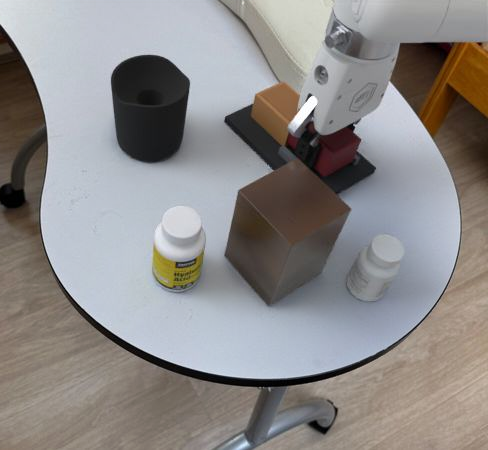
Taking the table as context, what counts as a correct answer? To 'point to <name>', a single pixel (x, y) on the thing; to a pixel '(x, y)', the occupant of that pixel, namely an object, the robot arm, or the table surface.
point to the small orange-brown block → (276, 110)
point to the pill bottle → (375, 268)
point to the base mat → (293, 152)
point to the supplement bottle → (178, 249)
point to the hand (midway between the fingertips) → (320, 150)
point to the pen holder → (149, 106)
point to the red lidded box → (333, 149)
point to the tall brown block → (284, 230)
